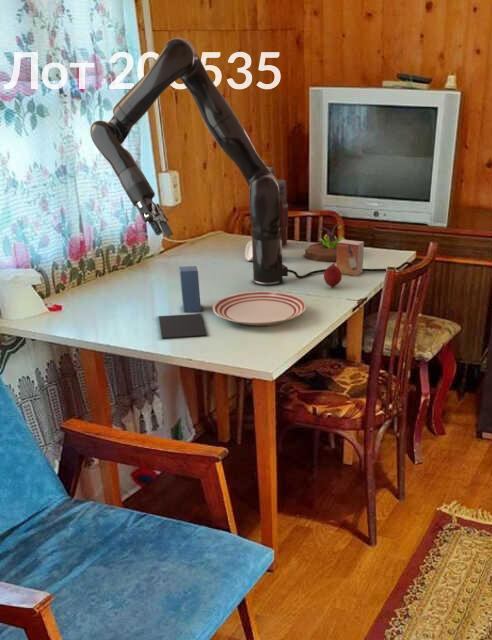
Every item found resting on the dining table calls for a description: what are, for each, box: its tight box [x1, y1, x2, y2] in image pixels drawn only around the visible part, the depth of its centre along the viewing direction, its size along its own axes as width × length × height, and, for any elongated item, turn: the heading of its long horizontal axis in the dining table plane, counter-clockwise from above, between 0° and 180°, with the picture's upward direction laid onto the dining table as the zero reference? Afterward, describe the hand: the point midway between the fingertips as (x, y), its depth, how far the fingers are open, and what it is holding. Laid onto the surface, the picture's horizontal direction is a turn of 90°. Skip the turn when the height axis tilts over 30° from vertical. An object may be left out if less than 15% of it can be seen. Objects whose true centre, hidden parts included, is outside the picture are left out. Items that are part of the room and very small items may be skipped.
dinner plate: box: [212, 290, 308, 327], centre depth 217 cm, size 28×27×3 cm
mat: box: [158, 313, 207, 340], centre depth 209 cm, size 12×18×1 cm, turn 14°
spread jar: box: [244, 236, 283, 262], centre depth 267 cm, size 12×11×12 cm
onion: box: [323, 262, 343, 288], centre depth 241 cm, size 6×6×8 cm
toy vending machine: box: [267, 166, 289, 248], centre depth 281 cm, size 9×11×28 cm
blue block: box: [178, 265, 202, 313], centre depth 219 cm, size 5×5×12 cm
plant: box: [304, 224, 345, 263], centre depth 275 cm, size 20×20×11 cm
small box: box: [335, 238, 365, 277], centre depth 256 cm, size 8×6×10 cm
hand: (165, 234), depth 228 cm, fingers open, 8 cm apart
